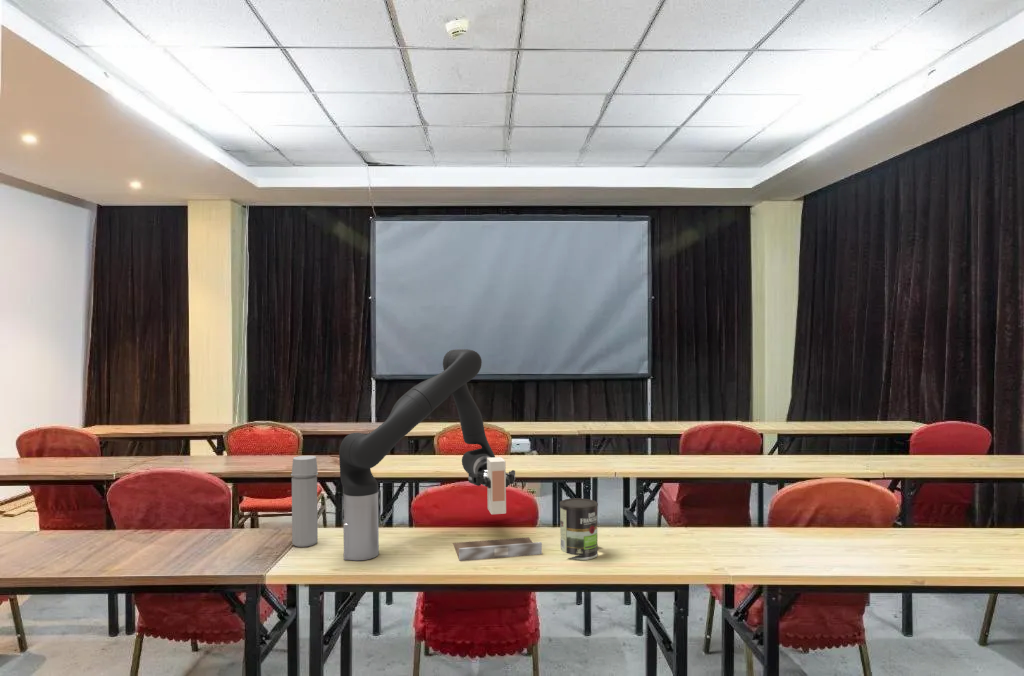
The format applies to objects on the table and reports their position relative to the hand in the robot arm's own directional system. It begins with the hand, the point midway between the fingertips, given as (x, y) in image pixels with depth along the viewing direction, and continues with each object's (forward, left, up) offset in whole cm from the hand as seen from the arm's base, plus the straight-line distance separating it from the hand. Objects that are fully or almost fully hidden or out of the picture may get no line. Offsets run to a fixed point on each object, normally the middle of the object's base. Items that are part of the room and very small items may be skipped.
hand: (498, 483), depth 174 cm
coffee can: (+22, -1, -20) cm, 30 cm away
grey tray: (0, +4, -20) cm, 21 cm away
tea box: (0, +3, -8) cm, 8 cm away
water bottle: (-52, +27, -20) cm, 62 cm away
